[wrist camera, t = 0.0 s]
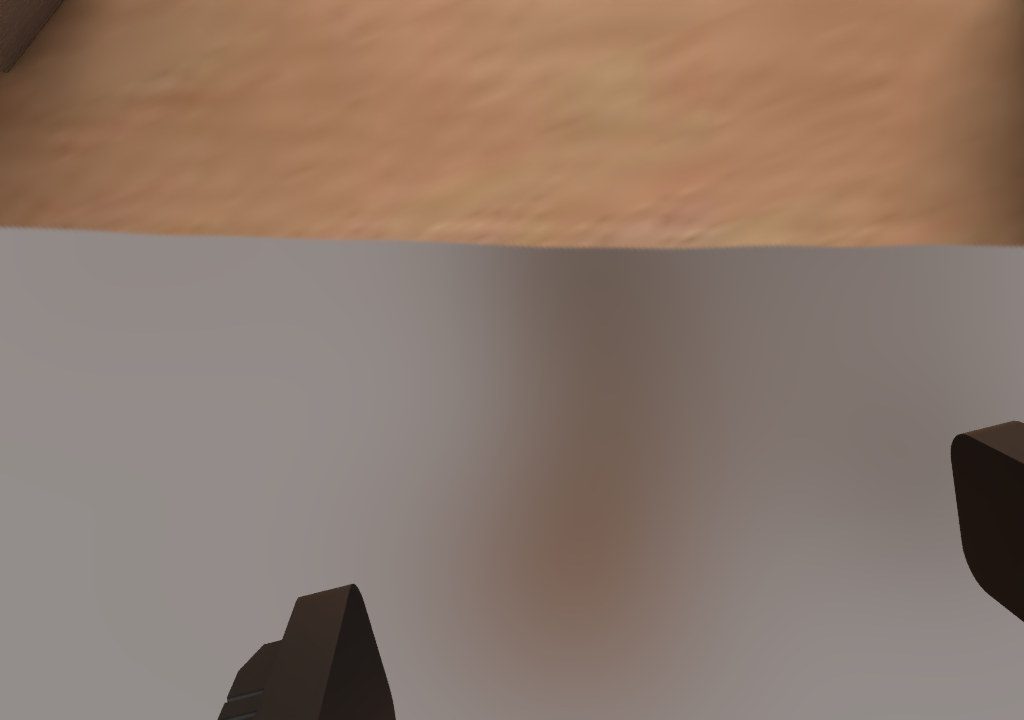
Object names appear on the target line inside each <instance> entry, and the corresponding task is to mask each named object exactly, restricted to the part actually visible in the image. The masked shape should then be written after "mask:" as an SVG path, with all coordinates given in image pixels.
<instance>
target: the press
mask: <svg viewBox="0 0 1024 720" xmlns="http://www.w3.org/2000/svg"><path fill="white" fill-rule="evenodd" d="M62 2H63V0H0V71H3V72H8V71H9V70H10V69H11V68H12V66H13V65H14V64H15V62H16V61H17V60H18V58H19V57H20V56H21V55H22V53H23V52H24V51H25V49H26V48H27V47H28V46H29V44H30V43H31V42H32V40H33V39H34V38H35V36H36V35H37V34H38V33H39V31H40V30H41V29H42V27H43V26H44V25H45V24H46V22H47V21H48V20H49V18H50V17H51V16H52V14H53V13H54V12H55V11H56V9H57V8H58V7H59V5H60V4H61V3H62Z"/></svg>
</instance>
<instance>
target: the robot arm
mask: <svg viewBox="0 0 1024 720" xmlns="http://www.w3.org/2000/svg"><path fill="white" fill-rule="evenodd" d="M951 463H952V470H953V477H954V485H955V493H956V501H957V509H958V516H959V524H960V531H961V539H962V546H963V551H964V554H965V558H966V561H967V563H968V565H969V568H970V570H971V572H972V574H973V576H974V577H975V579H976V581H977V582H978V583H979V585H980V586H981V587H982V588H983V589H984V591H985V592H987V593H988V594H989V595H990V596H991V597H993V598H994V599H995V600H996V601H998V602H999V603H1000V604H1001V605H1003V606H1004V607H1005V608H1007V609H1008V610H1009V611H1010V612H1012V613H1013V614H1014V615H1016V616H1017V617H1018V618H1019V619H1021V620H1022V621H1023V622H1024V423H1022V422H1019V421H1011V422H1007V423H1003V424H999V425H995V426H991V427H987V428H983V429H980V430H975V431H971V432H967V433H963V434H959V435H957V436H956V437H955V438H954V440H953V442H952V445H951ZM227 701H228V702H227V703H225V704H224V706H223V708H222V710H221V713H220V715H219V717H218V720H396V718H395V711H394V704H393V700H392V695H391V691H390V688H389V684H388V681H387V677H386V674H385V670H384V667H383V664H382V661H381V657H380V654H379V650H378V647H377V644H376V640H375V637H374V634H373V631H372V627H371V624H370V620H369V617H368V614H367V611H366V607H365V604H364V601H363V598H362V595H361V593H360V591H359V589H358V587H357V586H356V585H355V584H350V585H346V586H343V587H339V588H334V589H331V590H326V591H322V592H318V593H314V594H311V595H307V596H302V597H299V598H298V599H297V601H296V603H295V606H294V609H293V611H292V614H291V617H290V620H289V622H288V625H287V628H286V631H285V634H284V636H283V639H282V640H280V641H276V642H272V643H268V644H264V645H263V646H262V647H261V648H260V649H259V650H258V651H257V652H256V653H255V654H254V655H253V657H252V658H251V659H250V660H249V661H248V662H247V663H246V664H245V665H244V666H243V667H242V668H241V669H240V670H239V671H238V673H237V675H236V678H235V680H234V683H233V685H232V687H231V689H230V692H229V694H228V697H227Z"/></svg>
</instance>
